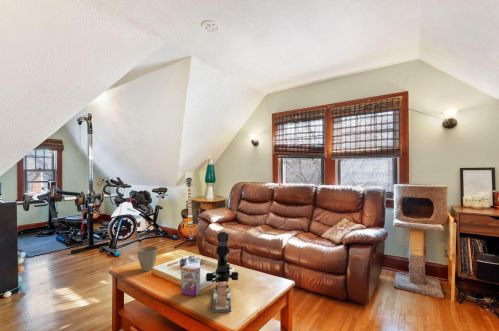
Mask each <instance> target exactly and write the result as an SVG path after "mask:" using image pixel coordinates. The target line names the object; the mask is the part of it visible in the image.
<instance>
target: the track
mask: <svg viewBox="0 0 499 331" xmlns="http://www.w3.org/2000/svg"><path fill="white" fill-rule="evenodd" d="M227 289H228V291H227V301H228V309H218V310H215V306H216V301H217V288H214V289H213V298H212V313H225V312H227V313H228V312H232V297H231V296H232V293H231V292H232V291H231V288H227Z"/></svg>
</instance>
